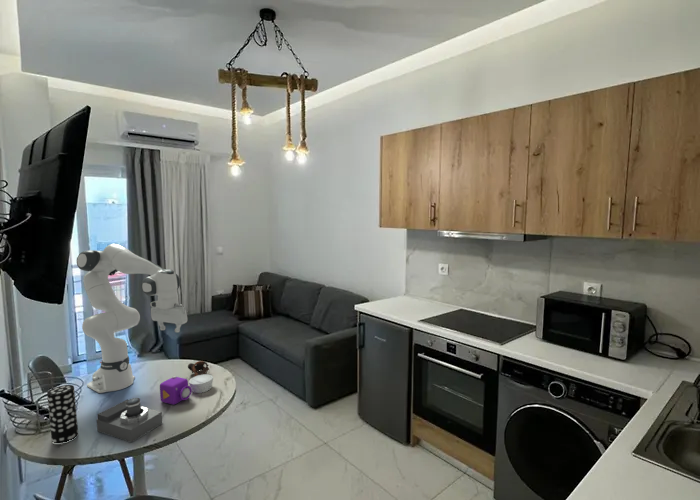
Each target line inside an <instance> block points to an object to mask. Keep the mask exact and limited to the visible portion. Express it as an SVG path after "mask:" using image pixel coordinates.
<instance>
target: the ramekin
mask: <svg viewBox="0 0 700 500" xmlns="http://www.w3.org/2000/svg"><path fill="white" fill-rule="evenodd" d="M213 382H214V376H213V375H212V374H209V373H208V374H207V373H205V374H203V375H198V376H195V377H194V376H193V377H191V378H190V379H189V380H188V385H189V386H190V387H191V389H192V393H194V394H202V392H203V393H206V392H208V391H210V390H211V389H212V387H213ZM205 391H206V392H205Z"/></svg>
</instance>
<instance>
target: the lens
mask: <svg viewBox="0 0 700 500" xmlns="http://www.w3.org/2000/svg"><path fill="white" fill-rule="evenodd" d="M141 406H142V404H141V398H140V397H133V398H130V399H128V401H126V409H127V417H134V416H138V415H139V414H141Z"/></svg>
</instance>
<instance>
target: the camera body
mask: <svg viewBox="0 0 700 500" xmlns="http://www.w3.org/2000/svg"><path fill="white" fill-rule="evenodd" d="M128 400H129V399H125V400H124V401H121V402H119V403H117V404H115V405H112V406H111V407H109V408H107V409H105V410H103V411H101V412H99V413H97V414H96V416H97V419H96V427H97V432H99V433H102V434H105V435H107V436H111V437H114V438H116V439H117V438H118V439H119V440H123V441H126V442H129V443H133V442H135V441H136V440H139V438H141V437H142V436H145V435H147V434H148V433H149V432H151V431H152V430H154V429H155V428H157V427H159V426H161V425H163V414H162V411H160V410H155V409H152V408H149V407H146V406H142V405H141V414H139V415H138V416H134V417H127V409H126V401H128Z"/></svg>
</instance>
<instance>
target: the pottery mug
mask: <svg viewBox="0 0 700 500" xmlns="http://www.w3.org/2000/svg"><path fill="white" fill-rule="evenodd" d="M187 368H188V370H189V371H191V373H192V374H193V373H194V375H193V377H195V376H198V375H203V374H207V373H208V371H210V368H209V364H208V362H206V361H204V360H200V361H199V360H198V361H196V362H195V363H188V365H187ZM199 370H200V371H199Z"/></svg>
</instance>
